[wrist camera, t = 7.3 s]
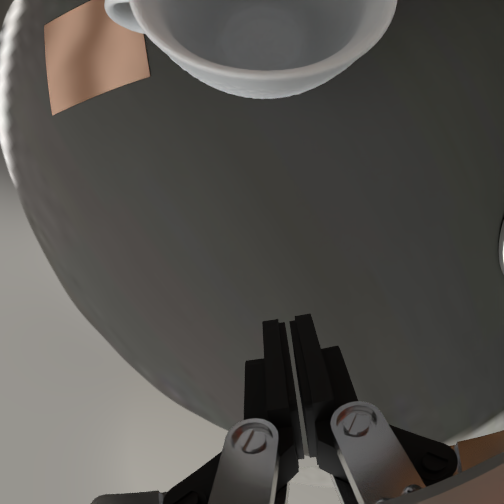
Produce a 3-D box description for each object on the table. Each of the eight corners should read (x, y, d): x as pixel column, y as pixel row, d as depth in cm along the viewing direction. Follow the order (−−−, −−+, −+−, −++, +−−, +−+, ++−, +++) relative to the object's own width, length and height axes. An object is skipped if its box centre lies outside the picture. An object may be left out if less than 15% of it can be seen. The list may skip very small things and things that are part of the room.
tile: (137, -19, 17) (136, -19, 17) (150, 76, 21) (149, 76, 21) (44, 25, 18) (44, 25, 18) (52, 115, 22) (52, 115, 22)
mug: (134, 97, 21) (29, 79, 9) (161, -18, 17) (95, -98, 5) (321, 122, 22) (386, 114, 10) (341, 2, 18) (402, -81, 6)
